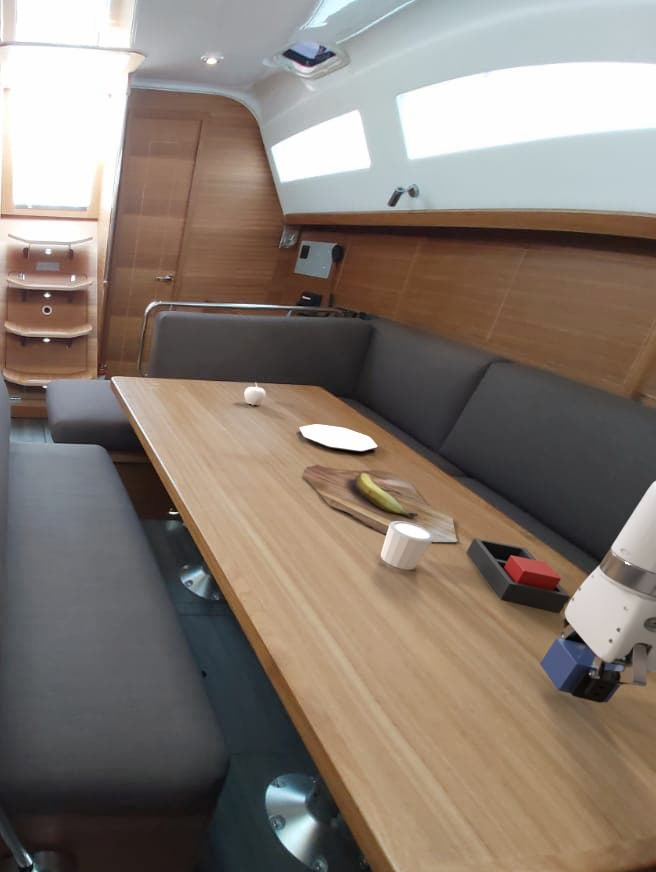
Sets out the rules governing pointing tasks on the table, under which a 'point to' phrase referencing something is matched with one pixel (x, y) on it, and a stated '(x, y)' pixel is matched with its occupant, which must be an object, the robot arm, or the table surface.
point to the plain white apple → (254, 395)
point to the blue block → (570, 664)
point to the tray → (491, 565)
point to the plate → (338, 437)
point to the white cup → (405, 544)
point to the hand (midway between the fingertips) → (573, 680)
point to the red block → (531, 573)
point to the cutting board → (379, 500)
